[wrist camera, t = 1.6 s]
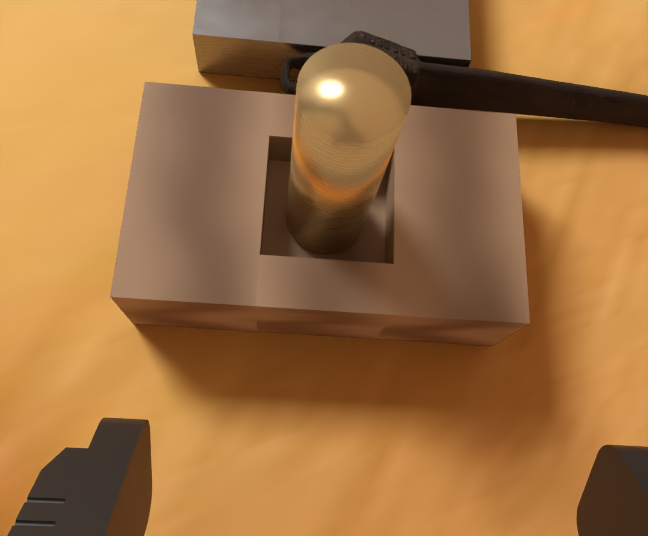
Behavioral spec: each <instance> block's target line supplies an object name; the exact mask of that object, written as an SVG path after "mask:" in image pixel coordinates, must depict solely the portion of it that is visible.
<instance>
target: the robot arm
mask: <svg viewBox="0 0 648 536" xmlns="http://www.w3.org/2000/svg"><path fill="white" fill-rule="evenodd" d="M151 497H152V470H151V444H150V425H149V421H148V420H141V419H122V418H103V419H102V420H101V421H100V423H99V425H98V427H97V430H96V432H95V434H94V436H93V439H92V441H91V443H90V446H89V448H88V449H87V448H65V449H64V450H63V451H62V452H61V453H60V454H58V455H57V456H56V457H55V458H54V459H53V460H52V461H51V462H50V463H48V464H47V465H46V466H45V467H44V468H43V469H42V470H41V472H40V474H39V476H38V477H37V479H36V481H35V483H34V485H33V487H32V489H31V491H30V493H29V495H28V497H27V502H26V503H24V505H23V507H22V509H21V511H20V513H19V514H18V516H17V518H16V523H15V526H12V528H11V530H10V532H9V534H8V536H144V534H145V530H146V527H147V523H148V518H149V513H150V506H151ZM577 528H578V533H579V536H648V447H642V446H622V445H605V446H603V447H602V448H601V449H600V450H599V452H598V454H597V457H596V459H595V462H594V465H593V467H592V470H591V473H590V475H589V478H588V481H587V483H586V486H585V489H584V491H583V494H582V497H581V499H580V502H579V505H578V509H577Z"/></svg>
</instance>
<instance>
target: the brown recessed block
mask: <svg viewBox="0 0 648 536" xmlns="http://www.w3.org/2000/svg"><path fill="white" fill-rule="evenodd" d="M295 99H296V95H290V94H278V93H267V92H256V91H244V90H233V89H222V88H210V87H199V86H188V85H176V84H165V83H154V82H145V84H144V90H143V96H142V103H141V109H140V115H139V121H138V127H137V134H136V140H135V146H134V152H133V158H132V165H131V171H130V177H129V183H128V190H127V196H126V202H125V208H124V214H123V221H122V227H121V233H120V239H119V245H118V252H117V258H116V264H115V270H114V277H113V283H112V289H111V295H110V297H111V298H112V300H113V301H114V302H115V303H116V304H117V305H118V307H119V308H120V309H121V310H122V311H123V312H124V314H125V315H126V316H127V317H128V318H129V319H130V321H131V322H132V323H133V324H143V325H160V326H176V327H193V328H209V329H225V330H242V331H258V332H274V333H291V334H307V335H323V336H340V337H356V338H372V339H389V340H405V341H422V342H438V343H454V344H471V345H487V346H493V345H495V344H496V343H498V342H500V341H502V340H503V339H505V338H507V337H508V336H510V335H512V334H513V333H515V332H517V331H519V330H520V329H522V328H524V327H525V326H527V325H529V324H530V315H529V300H528V286H527V271H526V256H525V242H524V227H523V212H522V197H521V183H520V168H519V153H518V138H517V124H516V114H505V113H494V112H483V111H471V110H460V109H449V108H437V107H426V106H415V105H410V109H409V111H408V114H407V116H406V119H405V122H404V124H403V127H402V129H401V132H400V135H399V137H398V140H397V142H396V145H395V147H394V150H393V153H392V155H391V158H390V160H389V163H388V165H387V168H386V171H385V173H384V176H383V178H382V181H381V184H380V186H379V189H378V191H377V194H376V196H375V199H374V202H373V204H372V207H371V209H370V212H369V215H368V217H367V220H366V222H365V225H364V227H363V230H362V233H361V235H360V237H359V238H358V240H357V241H356V242H355V243H354V244H353V245H352V246H351V247H350V248H348V249H347V250H345V251H343V252H340V253H337V254H332V255H321V254H316V253H313V252H310V251H308V250H306V249H304V248H303V247H301V246H300V245H299V244H298V243H297V242H296V241H295V240H294V239H293V237H292V235H291V234H290V232H289V229H288V226H287V219H286V215H287V202H288V190H289V177H290V164H291V151H292V138H293V125H294V112H295Z"/></svg>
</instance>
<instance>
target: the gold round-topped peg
mask: <svg viewBox="0 0 648 536" xmlns="http://www.w3.org/2000/svg"><path fill="white" fill-rule="evenodd" d="M410 104H411V87H410V83H409V81H408V78H407V76H406V74H405V72H404V70H403V69H402V68H401V66H400V65H399V64H398V63H397V62H396V61H395V60H394V59H393V58H392V57H390V56H389V55H388V54H386V53H385V52H383V51H381V50H379V49H377V48H375V47H372V46H369V45H365V44H360V43H339V44H334V45H331V46H328V47H325V48H323V49H321V50H319V51H318V52H316V53H315V54H314V55H312V56H311V57H310V58H309V59H308V60H307V61H306V62H305V64H304V65H303V67H302V69H301V71H300V73H299V76H298V79H297V86H296V99H295V112H294V125H293V138H292V151H291V164H290V177H289V190H288V202H287V215H286V219H287V226H288V229H289V232H290V234H291V235H292V237H293V239H294V240H295V241H296V242H297V243H298V244H299V245H300V246H301V247H303V248H304V249H306V250H308V251H310V252H313V253H316V254H321V255H332V254H337V253H340V252H343V251H345V250H347V249H348V248H350V247H351V246H352V245H353V244H354V243H355V242H356V241H357V240H358V238H359V237H360V235H361V233H362V230H363V227H364V225H365V222H366V220H367V217H368V215H369V212H370V209H371V207H372V204H373V202H374V199H375V196H376V194H377V191H378V189H379V186H380V184H381V181H382V178H383V176H384V173H385V171H386V168H387V165H388V163H389V160H390V158H391V155H392V153H393V150H394V147H395V145H396V142H397V140H398V137H399V135H400V132H401V129H402V127H403V124H404V122H405V119H406V116H407V114H408V111H409V109H410Z"/></svg>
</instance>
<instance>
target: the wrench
mask: <svg viewBox="0 0 648 536" xmlns="http://www.w3.org/2000/svg"><path fill="white" fill-rule="evenodd" d="M341 43H360V44H365V45H369V46H372V47H375V48H377V49H379V50H381V51H383V52H385V53H386V54H388V55H389V56H390V57H392V58H393V59H394V60H395V61H396V62H397V63H398V64H399V65H400V66H401V68H402V69H403V70H404V72H405V74H406V76H407V78H408V81H409V83H410V87H411V104H410V105H415V106H426V107H437V108H453V109H467V110H480V111H491V112H502V113H513V114H523V115H535V116H546V117H556V118H566V119H576V120H588V121H598V122H607V123H616V124H624V125H633V126H642V127H648V96H646V95H641V94H635V93H629V92H623V91H616V90H610V89H604V88H598V87H591V86H585V85H578V84H572V83H565V82H558V81H552V80H546V79H540V78H534V77H527V76H522V75H515V74H509V73H503V72H497V71H490V70H483V69H476V68H468V67H459V66H451V65H442V64H433V63H425V62H421V61H420V60H419V59H418V57H417V54H416V51H414V50H413V49H410V48H407V47H404V46H401V45H399V44H397V43H395V42H392V41H389V40H386V39H384V38H381V37H378V36H375V35H372V34H370V33H367V32H364V31H354V32H353V33H351V34H350V35H349V36H348V37H347V38H345V39H344V40H343V41H342V42H341ZM314 54H315V53H304V54H299V55H295V56H291V57H289V58H287V59H286V60H285V61H284V64H283V67H282V70H281V80H280V83H281V86H282V89H283V90H284V92H285V93H287V94H290V95H296V86H297V84H293V83H291V82H290V80H289V75H290V71H291V69H292V68H295V69H299V70H300V71H301V69H302V67H303V65H304V64H305V62H306V61H307V60H308V59H309V58H310V57H311V56H312V55H314Z"/></svg>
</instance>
